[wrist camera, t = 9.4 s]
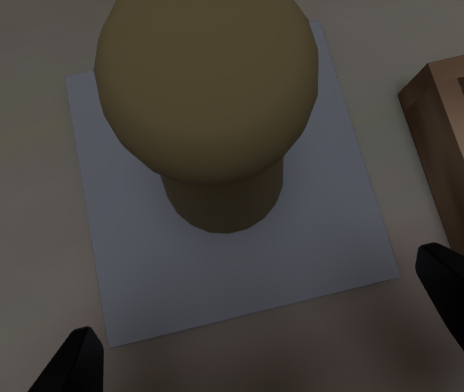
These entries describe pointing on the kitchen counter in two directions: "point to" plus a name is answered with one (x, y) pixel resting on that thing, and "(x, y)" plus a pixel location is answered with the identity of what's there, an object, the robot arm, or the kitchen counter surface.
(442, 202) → the walnut frame
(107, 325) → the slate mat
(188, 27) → the cork
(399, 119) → the kitchen counter surface
